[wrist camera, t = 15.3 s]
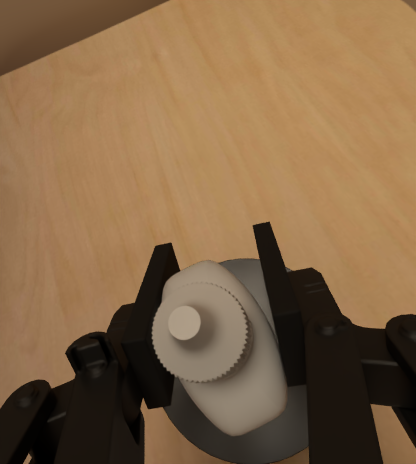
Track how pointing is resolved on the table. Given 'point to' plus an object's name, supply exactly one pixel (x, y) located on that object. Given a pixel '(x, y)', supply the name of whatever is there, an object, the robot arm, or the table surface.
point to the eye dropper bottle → (220, 348)
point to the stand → (264, 437)
